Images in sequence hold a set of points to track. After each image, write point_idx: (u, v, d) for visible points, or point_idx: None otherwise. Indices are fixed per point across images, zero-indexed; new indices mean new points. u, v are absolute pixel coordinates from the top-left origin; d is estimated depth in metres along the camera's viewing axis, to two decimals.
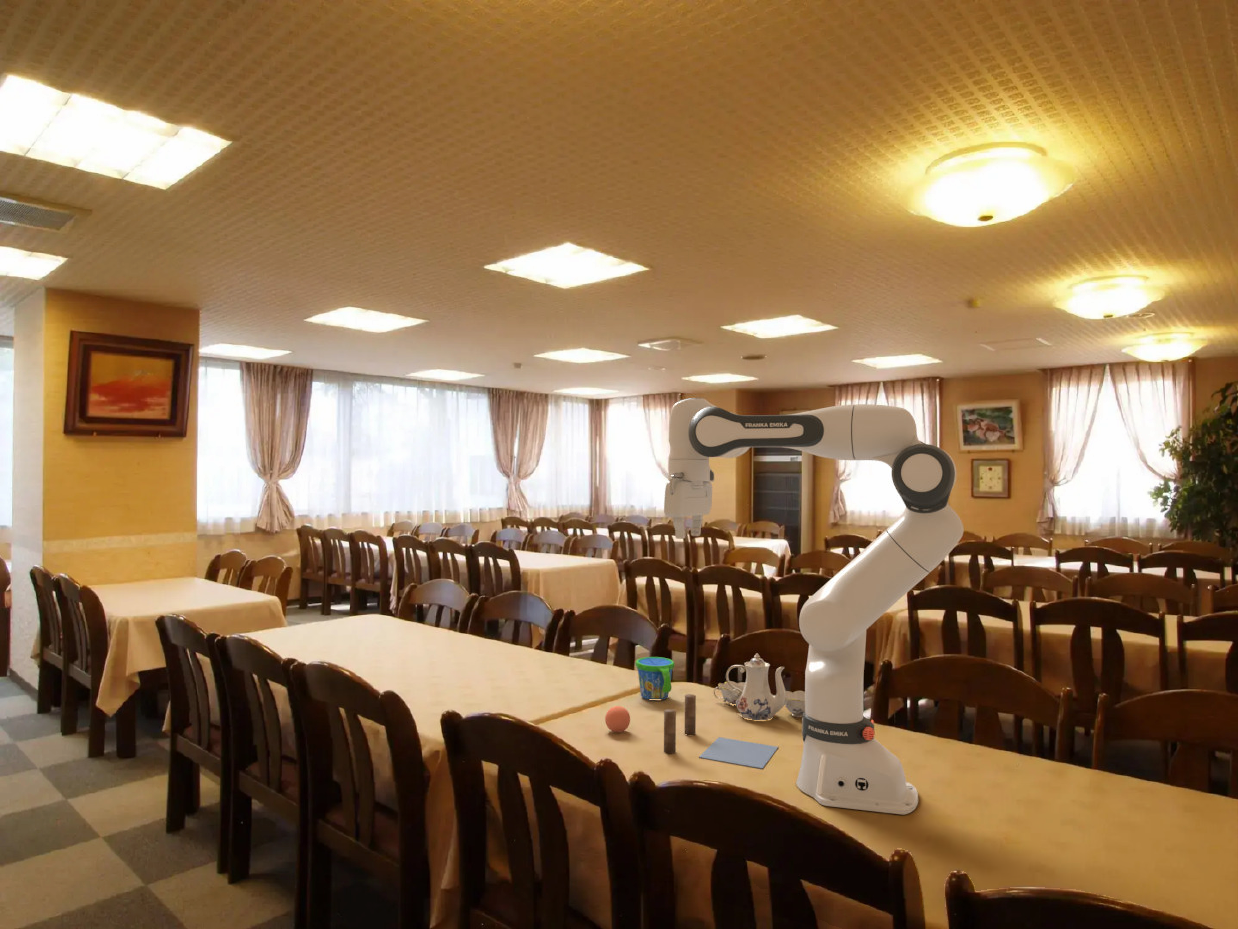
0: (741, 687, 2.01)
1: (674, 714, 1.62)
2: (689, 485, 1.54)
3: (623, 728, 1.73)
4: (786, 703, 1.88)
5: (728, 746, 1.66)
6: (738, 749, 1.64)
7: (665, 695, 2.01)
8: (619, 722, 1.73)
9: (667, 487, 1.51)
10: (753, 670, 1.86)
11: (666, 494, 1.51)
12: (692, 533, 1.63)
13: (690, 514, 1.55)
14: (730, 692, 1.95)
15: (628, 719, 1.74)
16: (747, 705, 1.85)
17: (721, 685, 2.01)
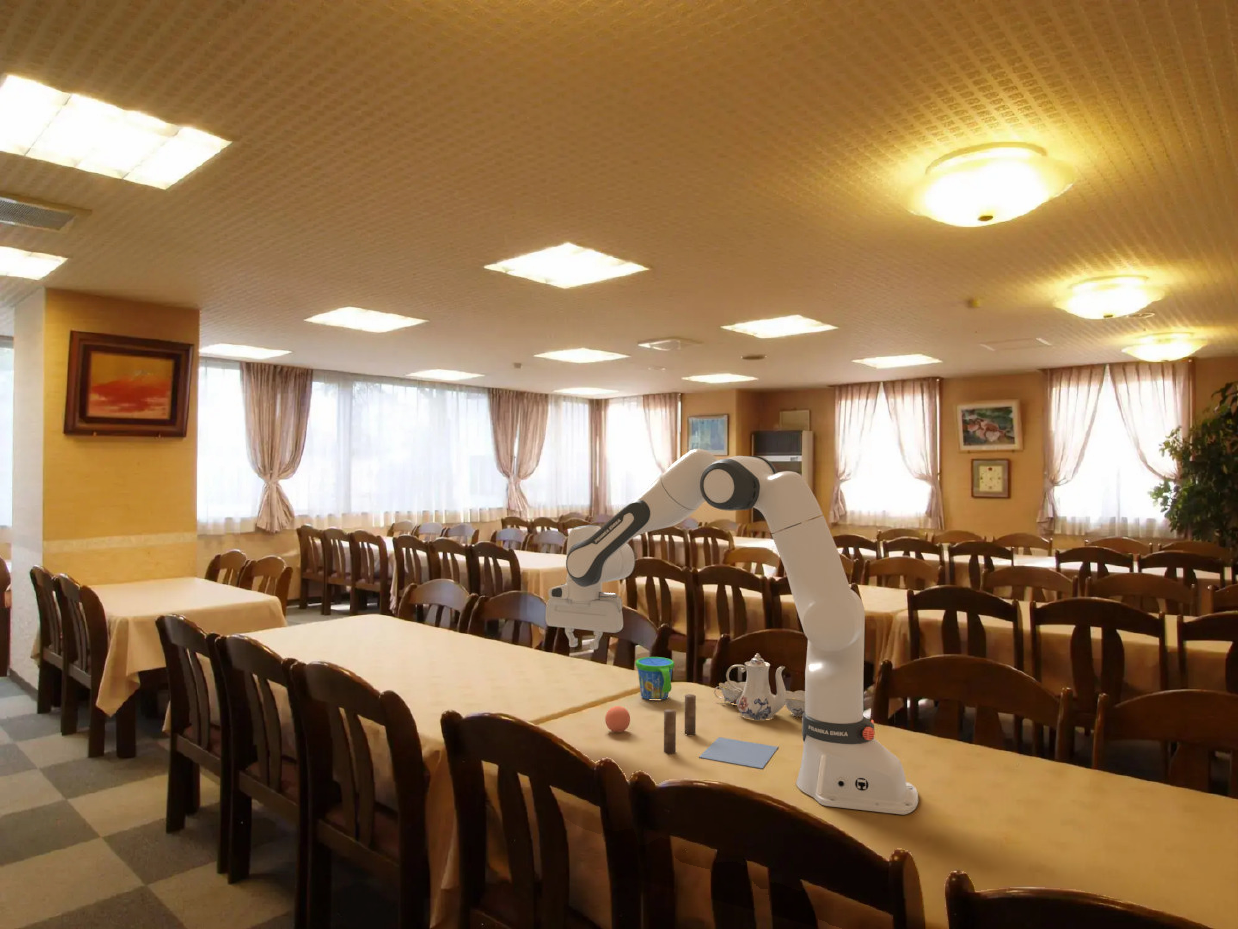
0: (742, 687, 2.01)
1: (674, 714, 1.62)
2: None
3: (623, 728, 1.73)
4: (786, 703, 1.89)
5: (728, 746, 1.66)
6: (738, 749, 1.64)
7: (665, 695, 2.01)
8: (619, 722, 1.73)
9: (616, 607, 1.75)
10: (753, 670, 1.87)
11: (617, 613, 1.75)
12: (574, 644, 1.81)
13: None
14: (730, 692, 1.95)
15: (628, 719, 1.74)
16: (747, 704, 1.85)
17: (722, 685, 2.01)
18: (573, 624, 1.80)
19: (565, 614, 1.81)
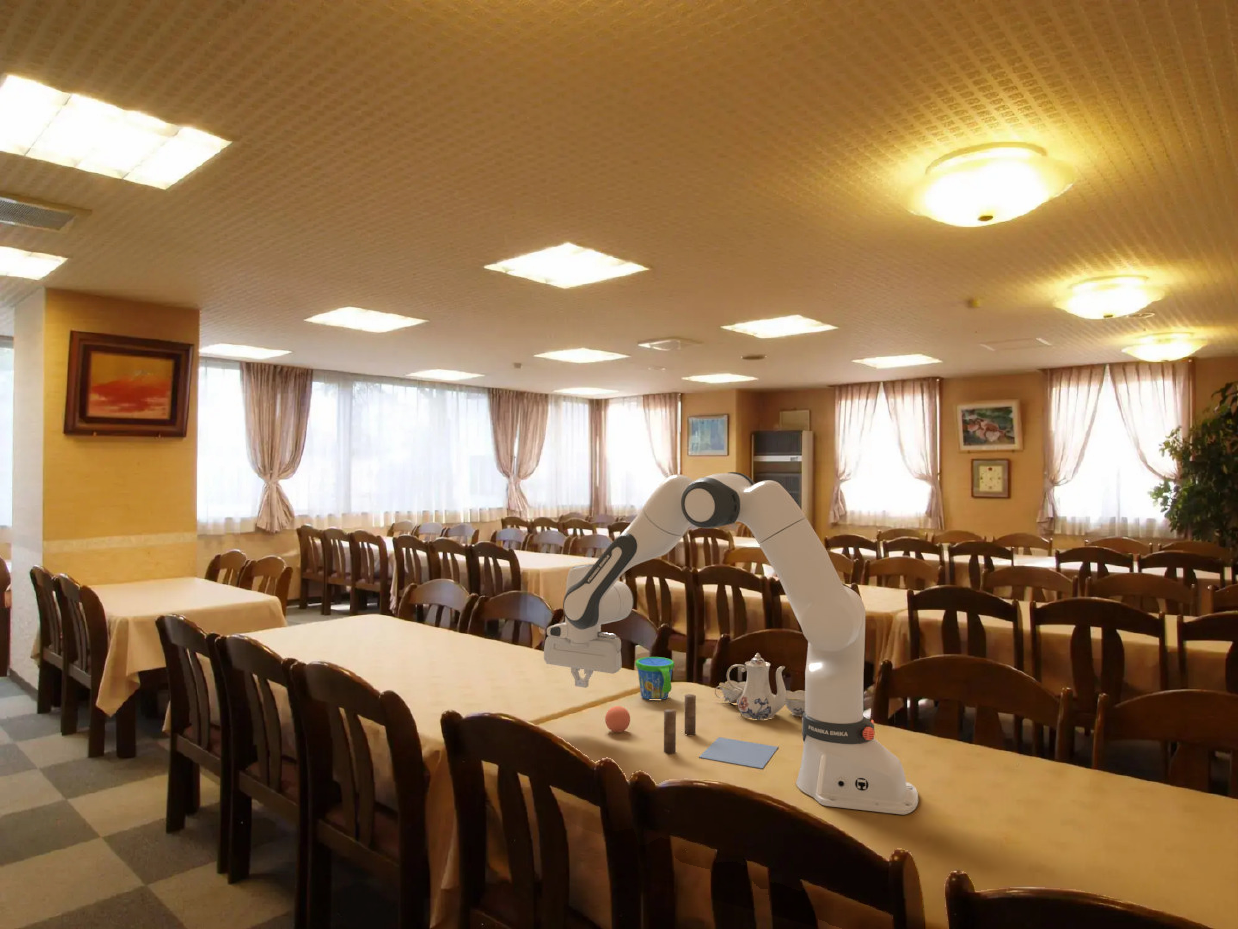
0: (742, 686, 2.02)
1: (674, 714, 1.62)
2: None
3: (623, 728, 1.73)
4: (787, 702, 1.89)
5: (728, 746, 1.66)
6: (738, 749, 1.64)
7: (665, 695, 2.01)
8: (619, 722, 1.73)
9: (614, 648, 1.75)
10: (754, 669, 1.87)
11: (615, 654, 1.75)
12: (580, 684, 1.80)
13: None
14: (731, 692, 1.96)
15: (628, 719, 1.74)
16: (748, 704, 1.85)
17: (722, 684, 2.01)
18: (571, 663, 1.79)
19: (563, 653, 1.80)
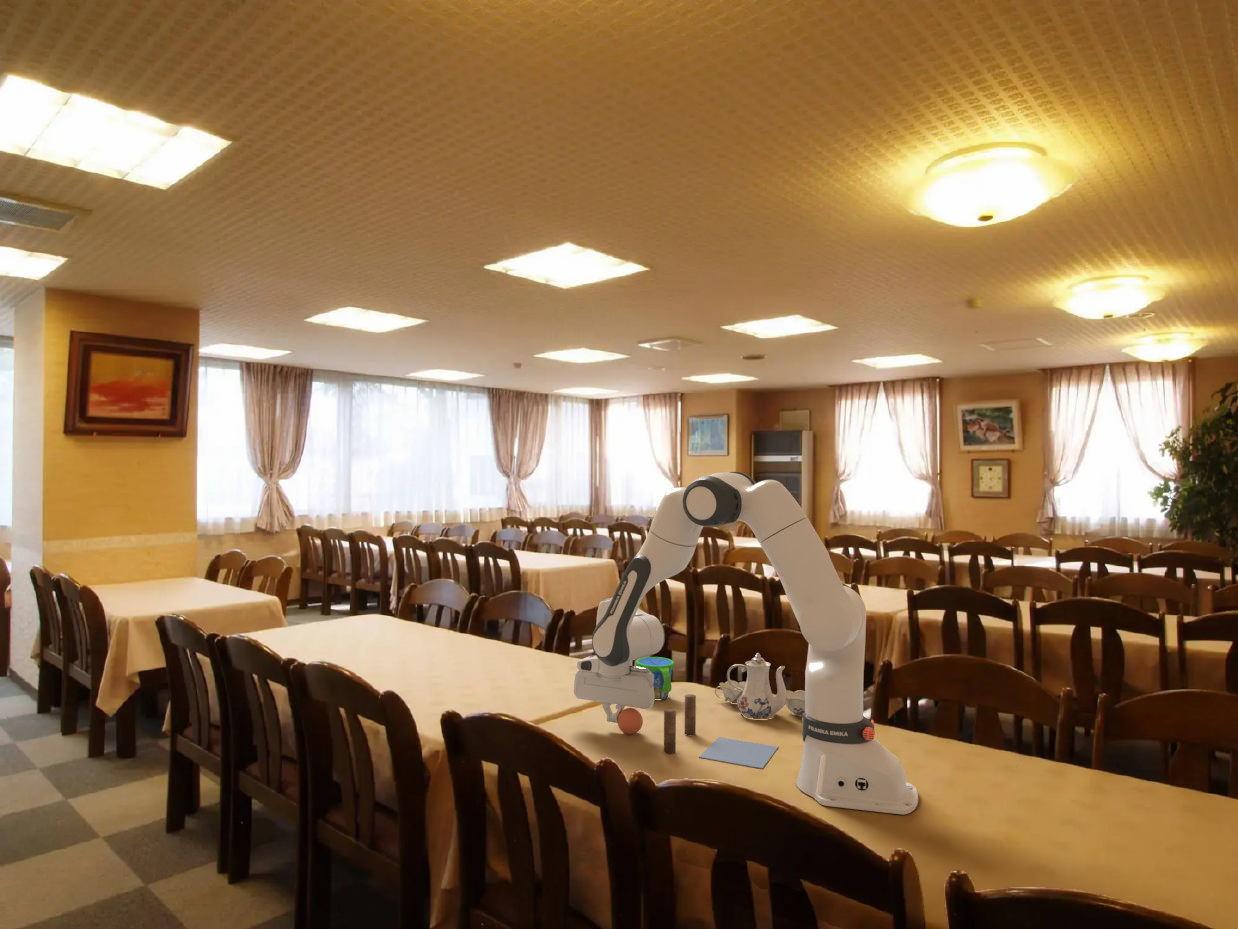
0: (742, 686, 2.02)
1: (674, 714, 1.62)
2: None
3: None
4: (787, 702, 1.89)
5: (728, 746, 1.66)
6: (738, 749, 1.64)
7: (665, 695, 2.01)
8: (630, 730, 1.71)
9: (647, 683, 1.71)
10: (754, 669, 1.87)
11: (648, 689, 1.71)
12: None
13: None
14: (731, 691, 1.96)
15: (638, 730, 1.73)
16: (748, 704, 1.86)
17: (722, 684, 2.01)
18: (603, 698, 1.75)
19: (594, 687, 1.77)
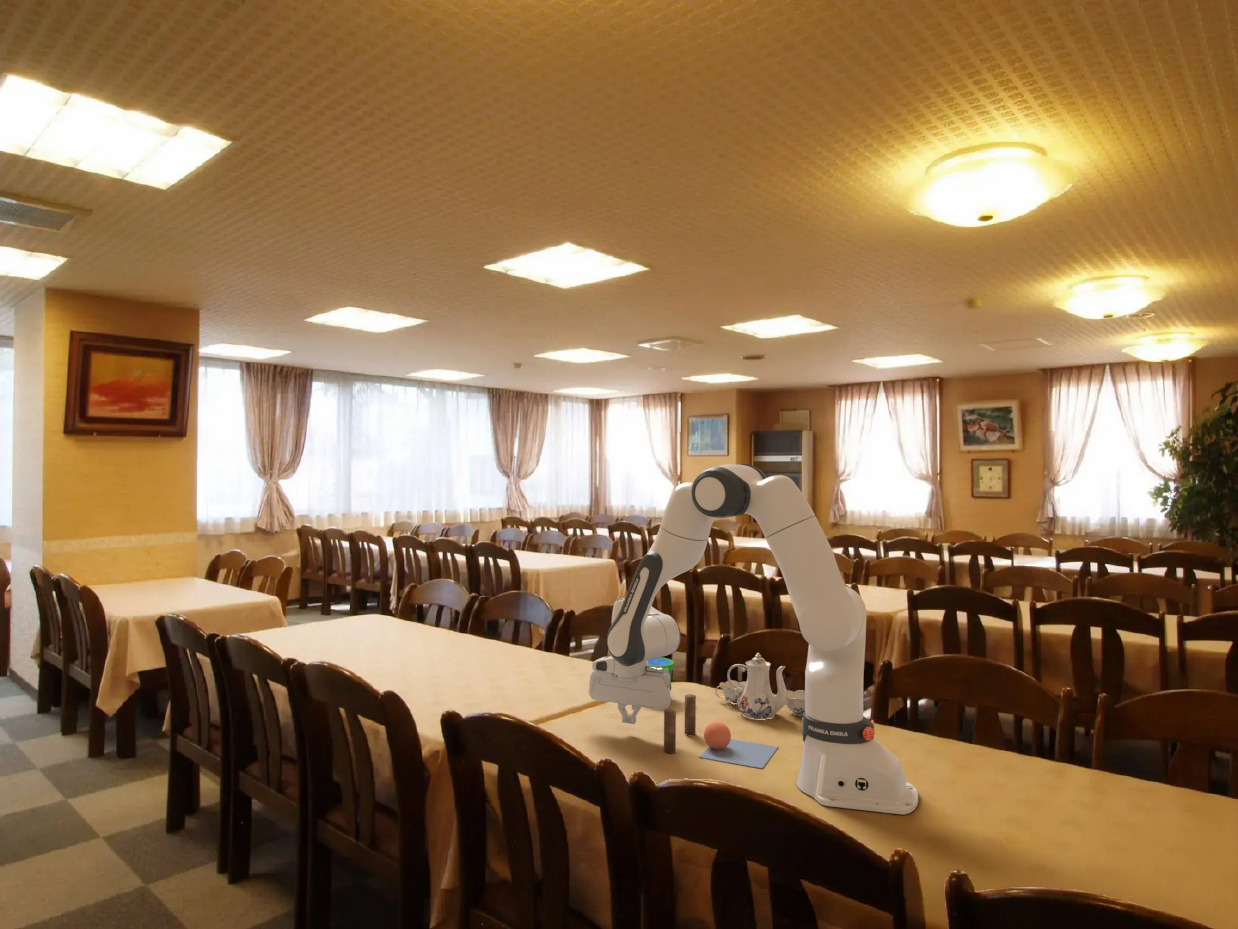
0: (743, 686, 2.02)
1: (674, 714, 1.62)
2: None
3: (708, 745, 1.64)
4: (787, 702, 1.89)
5: (728, 746, 1.66)
6: (738, 749, 1.64)
7: None
8: (713, 746, 1.63)
9: (664, 683, 1.70)
10: (754, 669, 1.87)
11: (665, 690, 1.69)
12: (628, 721, 1.74)
13: None
14: (731, 691, 1.96)
15: None
16: (748, 704, 1.86)
17: (723, 684, 2.01)
18: (618, 699, 1.74)
19: (610, 688, 1.75)
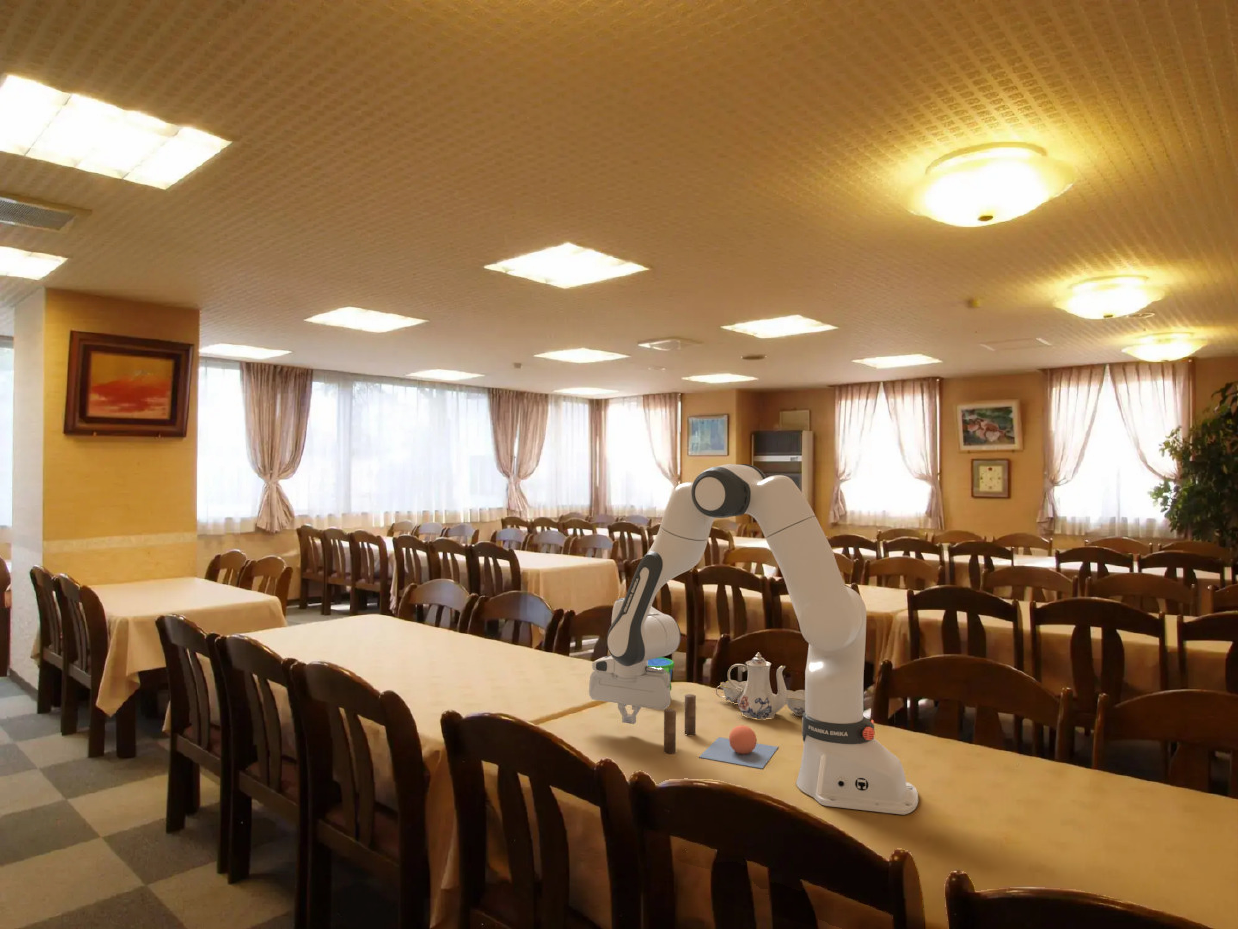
0: (743, 686, 2.02)
1: (674, 714, 1.62)
2: None
3: (735, 730, 1.62)
4: (787, 702, 1.89)
5: (728, 746, 1.66)
6: None
7: None
8: (732, 739, 1.61)
9: (664, 683, 1.70)
10: (754, 669, 1.87)
11: (665, 690, 1.69)
12: (628, 721, 1.74)
13: None
14: (731, 691, 1.96)
15: (730, 733, 1.63)
16: (748, 704, 1.86)
17: (723, 684, 2.02)
18: (618, 699, 1.74)
19: (610, 688, 1.75)
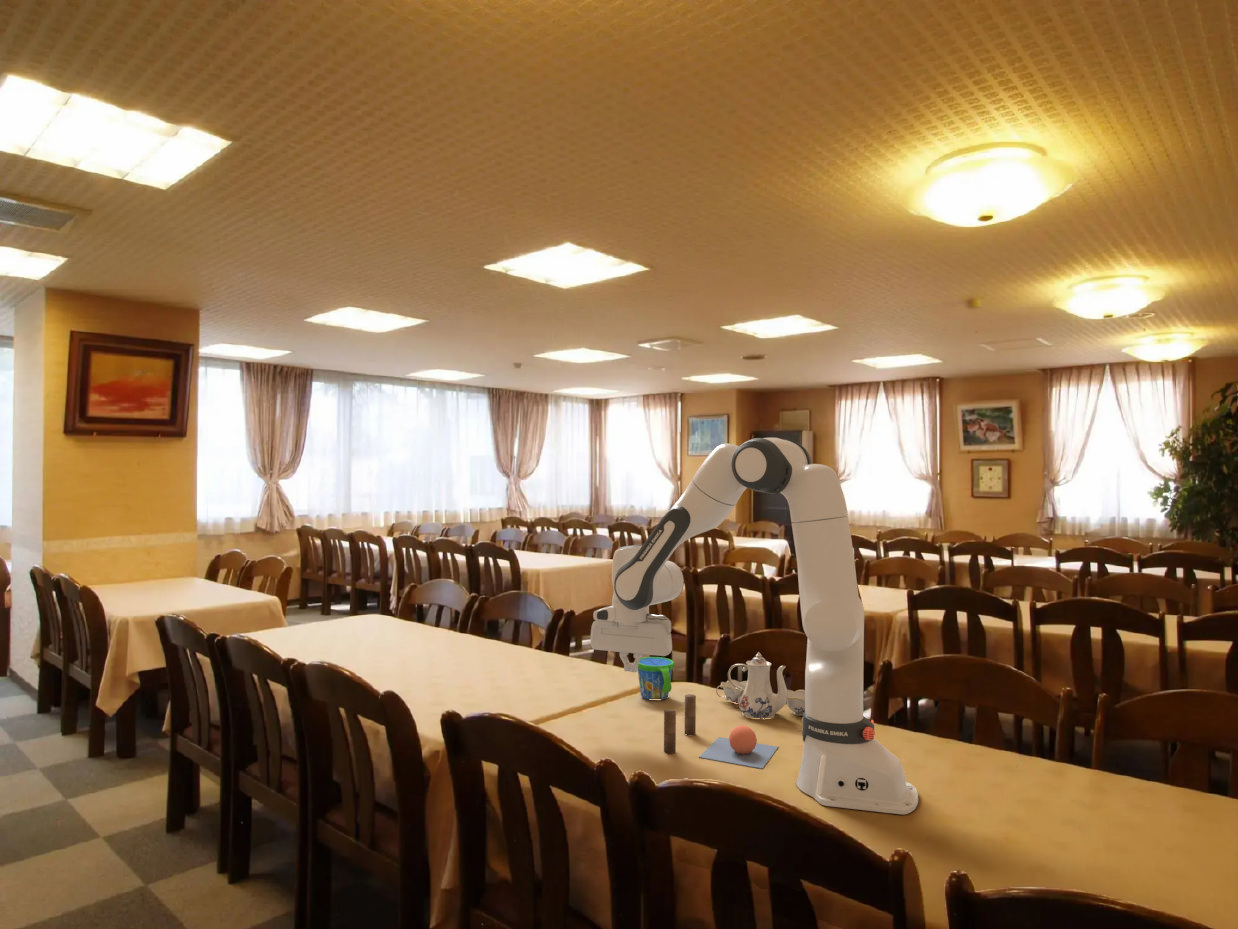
0: (743, 686, 2.02)
1: (674, 714, 1.62)
2: None
3: (735, 730, 1.62)
4: (788, 702, 1.90)
5: (728, 746, 1.66)
6: None
7: (665, 695, 2.01)
8: (732, 739, 1.61)
9: (665, 629, 1.70)
10: (755, 669, 1.88)
11: (666, 636, 1.70)
12: (630, 669, 1.74)
13: None
14: (732, 691, 1.97)
15: (730, 733, 1.63)
16: (748, 703, 1.86)
17: (723, 684, 2.02)
18: (620, 647, 1.74)
19: (611, 637, 1.75)
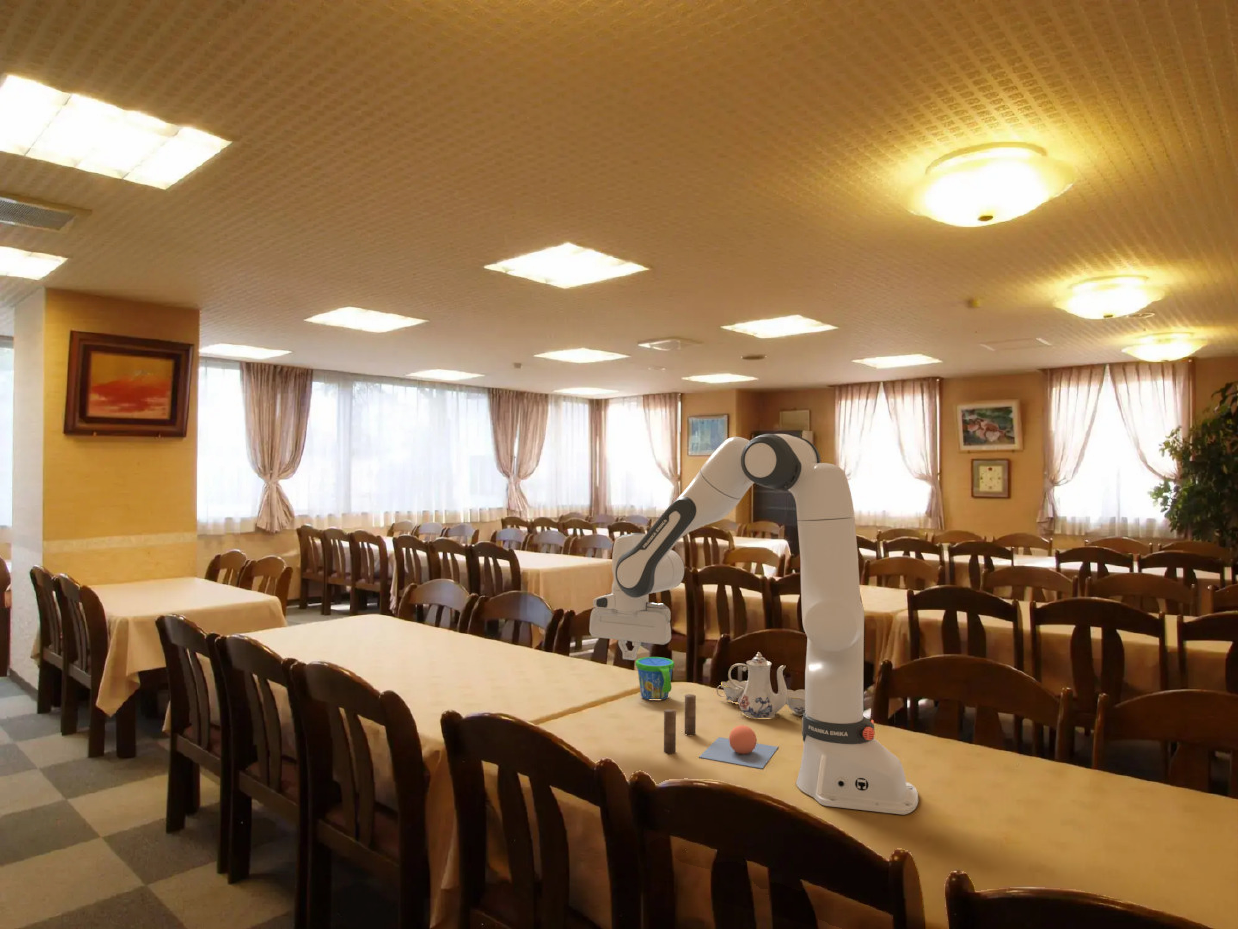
0: (744, 685, 2.03)
1: (674, 714, 1.62)
2: None
3: (735, 730, 1.62)
4: (788, 701, 1.90)
5: (728, 746, 1.66)
6: None
7: (665, 695, 2.01)
8: (732, 739, 1.61)
9: (664, 618, 1.70)
10: (755, 669, 1.88)
11: (665, 624, 1.70)
12: None
13: None
14: (732, 690, 1.97)
15: (730, 733, 1.63)
16: (749, 703, 1.86)
17: (724, 683, 2.02)
18: (619, 635, 1.74)
19: (610, 625, 1.75)
